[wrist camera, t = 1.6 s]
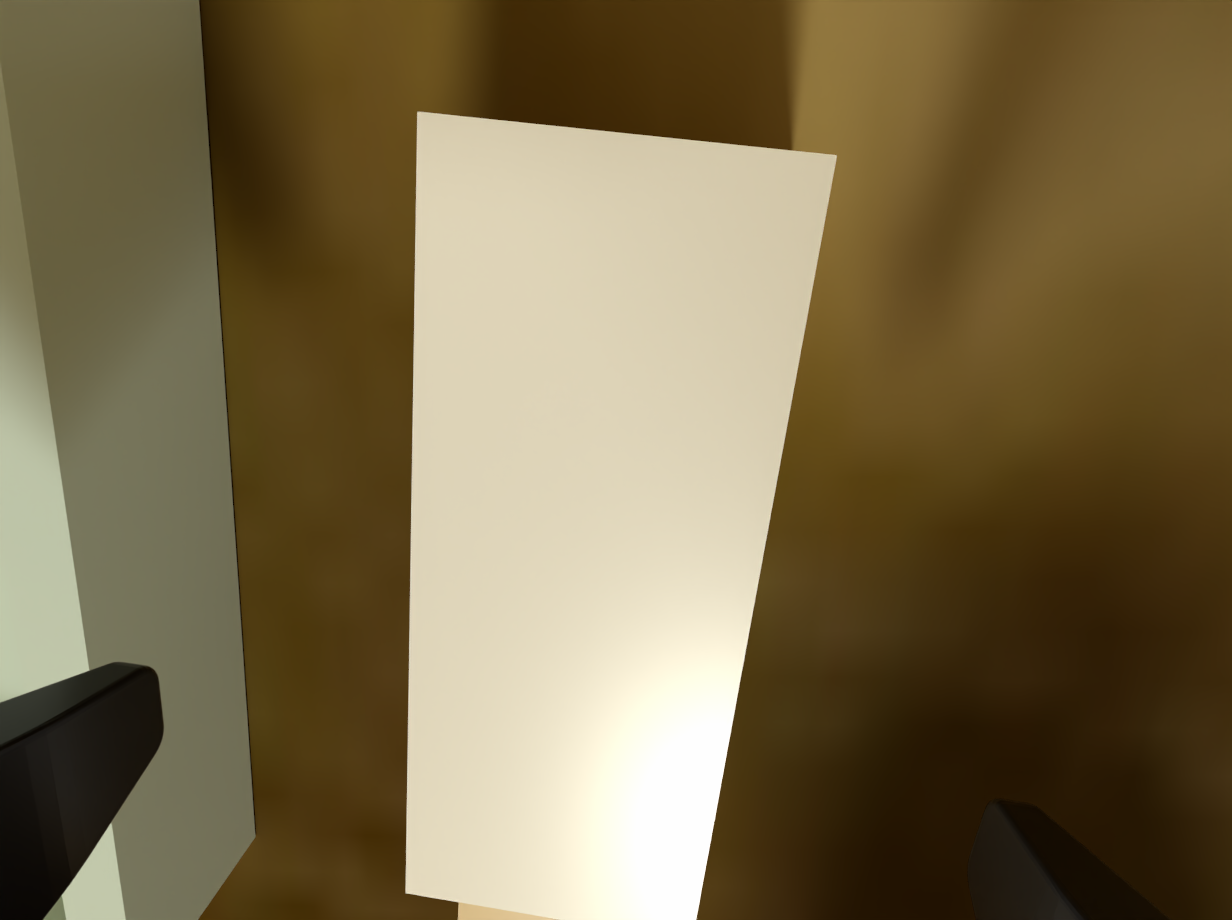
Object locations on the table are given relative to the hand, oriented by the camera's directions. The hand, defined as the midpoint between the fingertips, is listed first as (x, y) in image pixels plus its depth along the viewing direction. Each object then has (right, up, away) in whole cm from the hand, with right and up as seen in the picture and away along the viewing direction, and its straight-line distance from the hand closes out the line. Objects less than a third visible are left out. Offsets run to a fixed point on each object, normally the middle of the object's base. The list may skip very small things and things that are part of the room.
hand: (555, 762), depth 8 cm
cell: (0, +2, +5) cm, 5 cm away
